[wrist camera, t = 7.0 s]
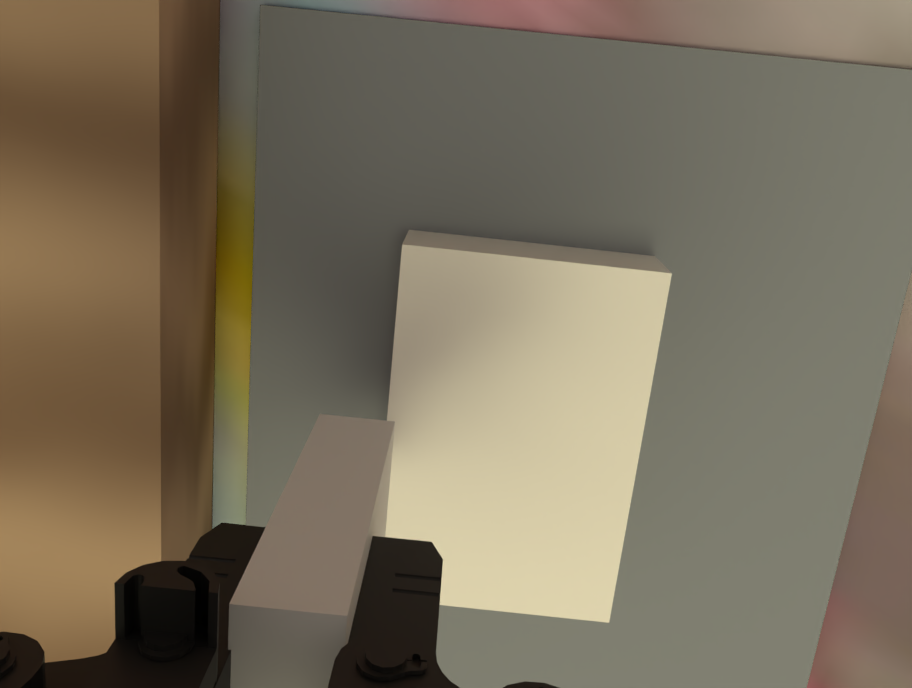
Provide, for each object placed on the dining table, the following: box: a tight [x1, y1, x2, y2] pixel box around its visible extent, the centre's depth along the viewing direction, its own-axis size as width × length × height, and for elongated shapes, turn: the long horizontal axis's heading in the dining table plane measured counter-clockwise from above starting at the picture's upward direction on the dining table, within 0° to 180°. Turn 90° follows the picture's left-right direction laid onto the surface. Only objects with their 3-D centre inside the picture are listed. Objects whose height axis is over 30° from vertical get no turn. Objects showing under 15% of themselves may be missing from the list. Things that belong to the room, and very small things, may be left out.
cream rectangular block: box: [385, 230, 672, 623], centre depth 22 cm, size 9×6×2 cm, turn 174°
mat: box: [246, 5, 912, 688], centre depth 23 cm, size 18×16×1 cm
